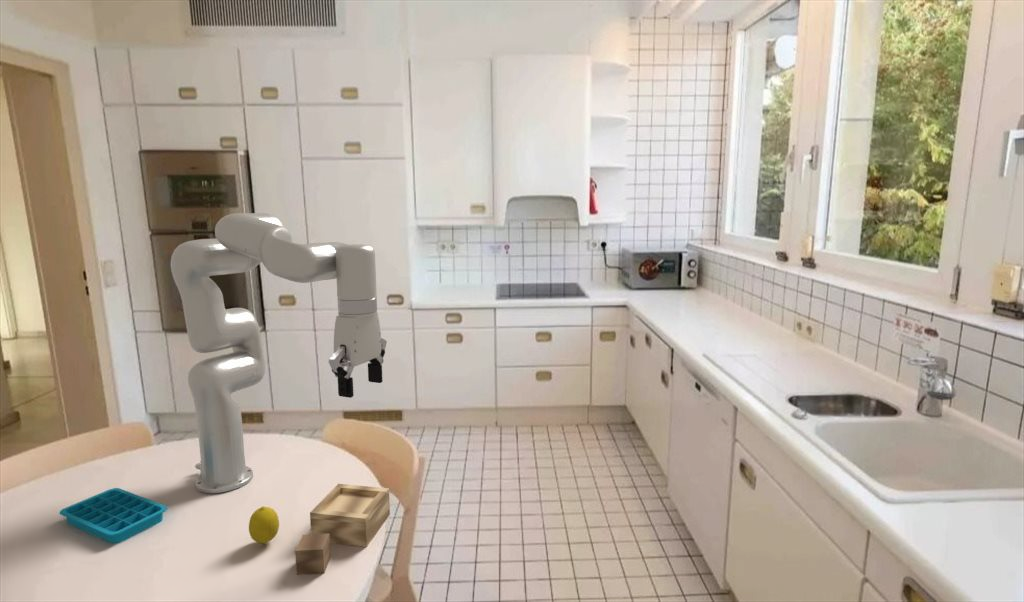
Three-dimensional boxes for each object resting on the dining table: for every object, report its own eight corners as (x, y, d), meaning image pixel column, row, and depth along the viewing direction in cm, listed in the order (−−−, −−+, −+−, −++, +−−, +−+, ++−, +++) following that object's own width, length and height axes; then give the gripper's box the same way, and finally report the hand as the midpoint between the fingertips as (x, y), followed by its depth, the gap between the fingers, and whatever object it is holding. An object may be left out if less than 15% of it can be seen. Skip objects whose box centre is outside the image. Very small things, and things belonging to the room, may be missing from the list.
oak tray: (311, 540, 110) (309, 512, 109) (339, 509, 122) (338, 483, 121) (366, 546, 108) (365, 518, 107) (389, 514, 120) (389, 488, 119)
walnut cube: (296, 575, 100) (295, 550, 99) (304, 558, 105) (302, 534, 104) (324, 573, 100) (323, 549, 100) (330, 556, 105) (329, 533, 105)
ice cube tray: (117, 498, 126) (115, 486, 126) (171, 520, 118) (170, 507, 117) (58, 524, 116) (56, 511, 116) (113, 549, 108) (112, 536, 107)
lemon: (268, 553, 106) (266, 516, 105) (244, 549, 107) (241, 512, 106) (285, 537, 111) (283, 501, 110) (262, 533, 113) (259, 498, 111)
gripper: (368, 299, 117) (371, 375, 120) (312, 312, 101) (317, 400, 104) (397, 301, 114) (400, 379, 117) (345, 315, 98) (349, 405, 101)
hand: (361, 389), depth 110 cm, fingers open, 9 cm apart
